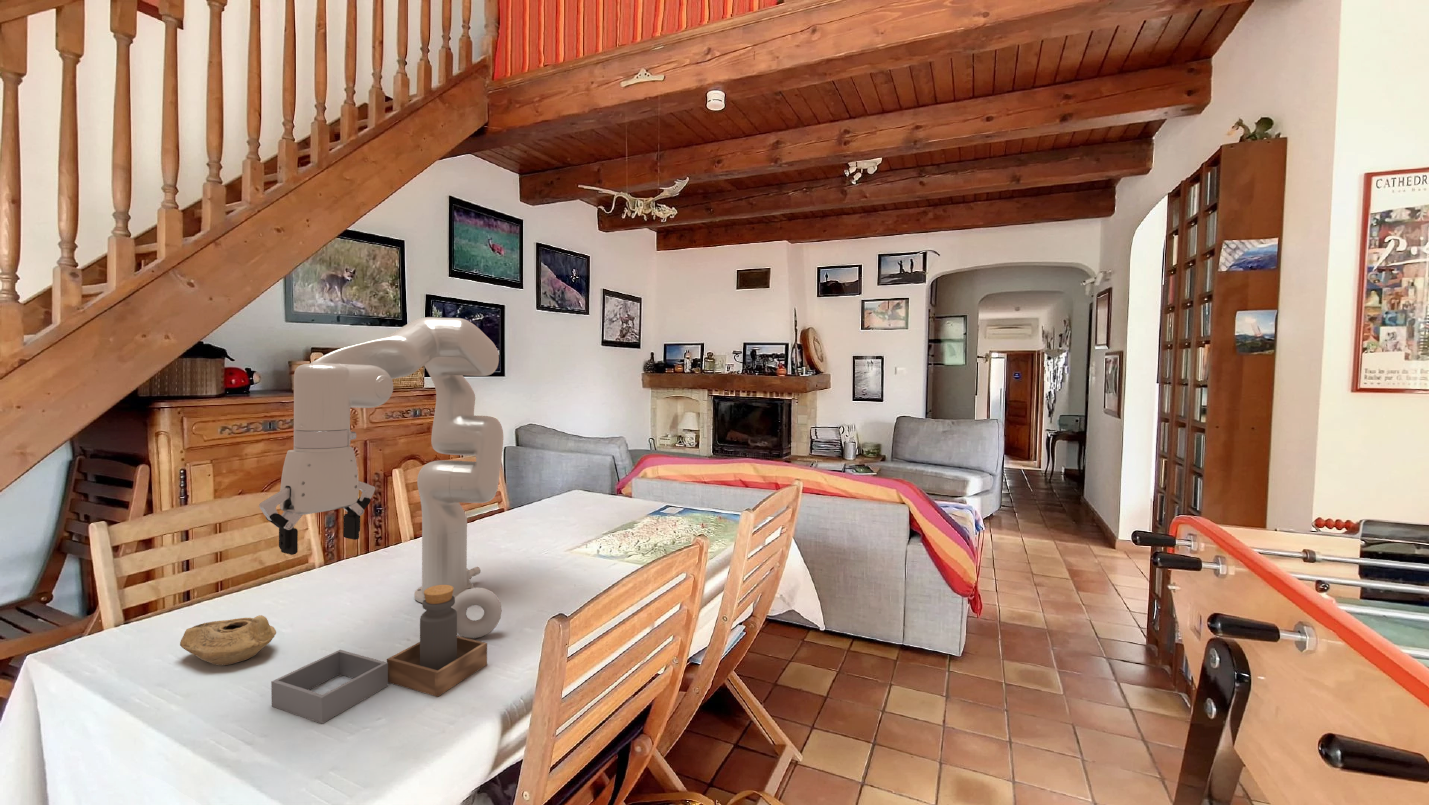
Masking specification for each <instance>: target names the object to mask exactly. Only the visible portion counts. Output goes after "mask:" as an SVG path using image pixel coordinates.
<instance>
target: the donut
mask: <svg viewBox="0 0 1429 805" xmlns="http://www.w3.org/2000/svg"><path fill="white" fill-rule="evenodd" d="M472 606H478V607H480V608H482V610H483V615H482V617H481V618H479V619H475V620H474V619H470V618H469V617H468V616H467V615H468V614H467V611H468V609H469V608H470V607H472ZM451 608H453V609H455V610H456V611H457V636H460V637H464V638H468V639H478V638H481V637H484V636H486V635H488V634H489V633H491V632H492V631H494V629H495V628H497V625H499V622H500V620H501V616H502V613H503V609H502V603H501V601H500V599H499V598H498V595H497V594H495V593H494V592H493V591H492V590H489V589H488V588H485V587H474V588H471V589H467V590H465V591H463V592H461V593H460V594H459V595H458V596H457V597H456V598H455V603H454V605H453V606H451Z"/></svg>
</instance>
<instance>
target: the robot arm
mask: <svg viewBox="0 0 1429 805" xmlns="http://www.w3.org/2000/svg"><path fill="white" fill-rule="evenodd" d="M499 361H500V355H499V351H498V349H497V347H496V345H495V343H494V342H493V341H492V340H491V339H490V337H488V336H487V335H486V334H485V333H484V332H483V330H481V329H480V328H479V327H478V326H477V325H475V324H474V323H472V322H471V321H469V320H467V319H465V318H461V317H433V316H427V317H420V318H416V319H414V320H411V321H410V322H409V323H407V324H405V325H403V326H402V327H400V328H398V329H397V330H395V331H394V332H392V333H390V334H388V335H386V336H384V337H380V338H377V339H372V340H369V341H368V340H367V341H366V342H365V341H364V342H360V343H358V344H354V345H349V346H345V347H342V348H338V349H336V350H333V351H330V352H328V353H326V354H324V355H323V356H321V357H320V356H319V357H318V358H317V359H315V360H314V361H312V362H310V363H304V364H300V365H298V366H297V367H296V368H295V369H294V375H293V449H289V450H287V452H286V455H285V458H284V462H283V466H282V473H281V478H280V479H281V481H280V488H279V491H278V492H277V493H275V494H273V495H271V496H270V497H268V498H266V499H265V500H263V501H262V502H259V505H258V507H259V509H260V510H261V512H262V513H263V515H264V516H265V519H266V520H267V521H268V522H269V523H271V524H273V525H274V527H276V528H277V529H278V548H279V550H280V552H281V553H282V554H283V553H284V554H285V555H290V556H292V555H293V556H294V555H297V553H298V548H299V547H298V543H299V542H298V541H299V540H298V538H299V535H298V534H299V533H298V528H295V525H296V524H297V523H298V522H299V520H301V519H302V517H303V515H311V514H312V515H313V514H316V513H324V512H329V511H333V510H339V509H343V510H344V511H345V512H346V513H344V514H343V532H342V533H343V535H342V536H343V537H344V539H349V540H353V541H355V540H359V539H360V532H361V516H362V515H364V513H365V510H366V508H367V507H368V506H369V505H370V504H371V499H372V498H373V495H374V493H375V492H376V487H375V486H374V485H370V484H369V483H366V482H363V481H360V480H359V472H358V470H359V469H358V464H357V458H356V453H355V449H354V447H352V446H350V445H351V441H352V440H356V438H357V432H356V431H351V408H354V409H355V408H357V409H369V408H370V409H371V408H373V409H374V408H376V407H380V406H382V405H384V404H385V403H386V402H388V401H389V399H390V398H391V397H392V394H393V392H394V381H393V379H398V378H403V377H408V376H410V375H412V374H414V373H416V372H417V371H419V369H421V368H422V367H424V368H425V369H426V372H427V373H428V375H429V377H430V378H431V380H432V383H433V386H434V388H435V393H436V394H435V396H436V397H435V398H436V399H435V408H434V415H433V422H432V427H431V428H432V429H431V438H430V439H431V441H430V442H431V447H432V450H434V451H435V452H437V453H438V454H443V455H452V456H469V457H470V456H473V457H474V456H475V461H474V460H473V461H470V460H450V459H449V460H447V459H446V460H445V459H443V460H442V459H441V460H439V459H438V460H432V461H430V462H428V463H426V464H424V465H423V466H422V467H421V468H420V470H419V472H418V474H417V479H416V480H417V481H416V483H417V485H416V486H417V490H418V495H419V501H420V506H421V586H420V587H418V588H416V590H415V591H414V600H415V601H416V602H419V603H421V604H422V603H423V601H424V600H425V596H424V590H425V589H427V588H429V587H432V586H436V585H450V586H453V588H454V590H453V594H452V596H454V597H455V598H456V597H457V596H458V595H459V594H460V593H461V592H463V591H465V590H467V589H471V588H475V586H474V583H471V582H470V580H471V579H473V577H476V576H478V575H480V574H481V573H482V572H481V568H480V567H479V566H475V567H473V568H471V569H468V567H467V566H468V564H467V563H468V562H467V561H468V559H467V558H468V552H467V550H468V519H467V514H466V512H465V510H464V508H463V506H462V505H461V503H462V504H463V503H465V504H467V503H470V504H483V503H484V504H485V503H488V502H490V501H492V500H493V499H494V498H495V497H496V495H497V491H498V488H499V482H500V475H501V474H500V473H501V465H502V456H503V448H504V430H503V426H502V424H501V421H499V420H498V419H497V418H495V417H493V416H489V415H477V414H476V415H475V407H476V406H475V404H476V395H475V394H476V393H475V392H474V389H473V388H472V385H471V384H470V383H469V381H468V380H467V379H466V378H465V377H464V376H471V377H474V376H475V377H488V376H490V375H492V374H494V373H495V371H496V370H497V369H498V367H499V363H500V362H499ZM359 491H361V494H360V497H359V493H360V492H359ZM277 506H279V508H280V510H281V511H283V512H282V513H281V514H280V513H278V509H277Z"/></svg>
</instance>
